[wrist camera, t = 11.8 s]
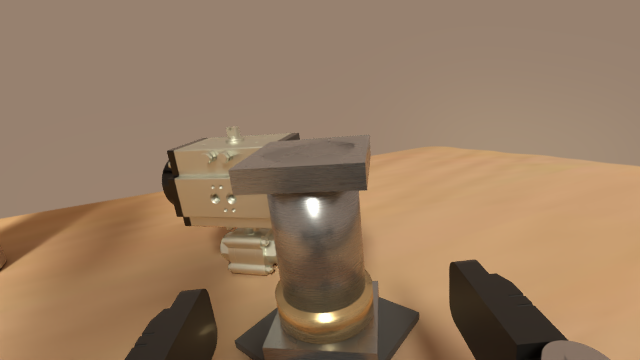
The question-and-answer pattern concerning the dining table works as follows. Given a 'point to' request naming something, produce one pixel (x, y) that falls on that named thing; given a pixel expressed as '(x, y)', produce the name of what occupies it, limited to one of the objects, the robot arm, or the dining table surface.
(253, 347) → the pad
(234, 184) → the grey column pedestal
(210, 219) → the pneumatic valve
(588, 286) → the dining table surface
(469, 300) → the robot arm
